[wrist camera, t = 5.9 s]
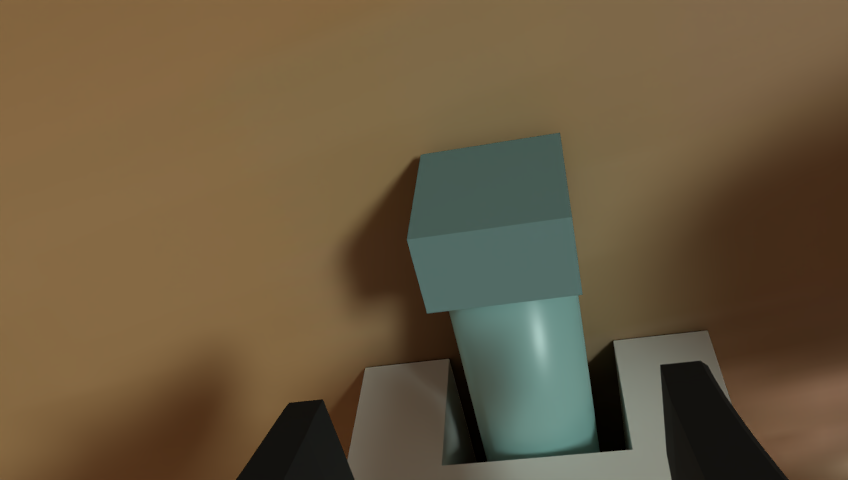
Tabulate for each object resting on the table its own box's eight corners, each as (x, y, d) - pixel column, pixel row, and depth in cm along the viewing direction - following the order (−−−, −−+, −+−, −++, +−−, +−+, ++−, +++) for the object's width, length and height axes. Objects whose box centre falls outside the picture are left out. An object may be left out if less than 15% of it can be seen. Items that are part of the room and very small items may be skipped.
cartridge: (559, 132, 19) (572, 216, 16) (613, 525, 27) (627, 630, 24) (420, 154, 20) (406, 239, 17) (513, 531, 28) (515, 635, 25)
